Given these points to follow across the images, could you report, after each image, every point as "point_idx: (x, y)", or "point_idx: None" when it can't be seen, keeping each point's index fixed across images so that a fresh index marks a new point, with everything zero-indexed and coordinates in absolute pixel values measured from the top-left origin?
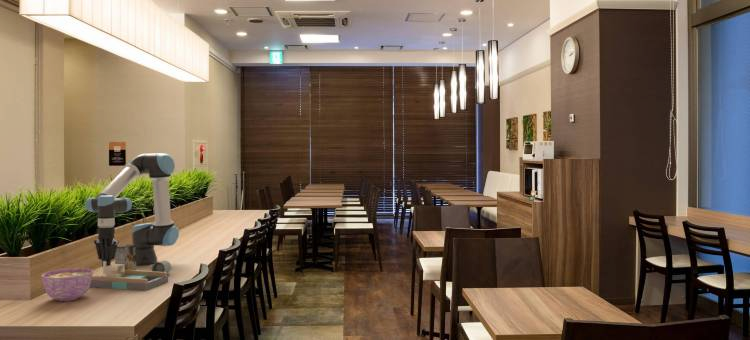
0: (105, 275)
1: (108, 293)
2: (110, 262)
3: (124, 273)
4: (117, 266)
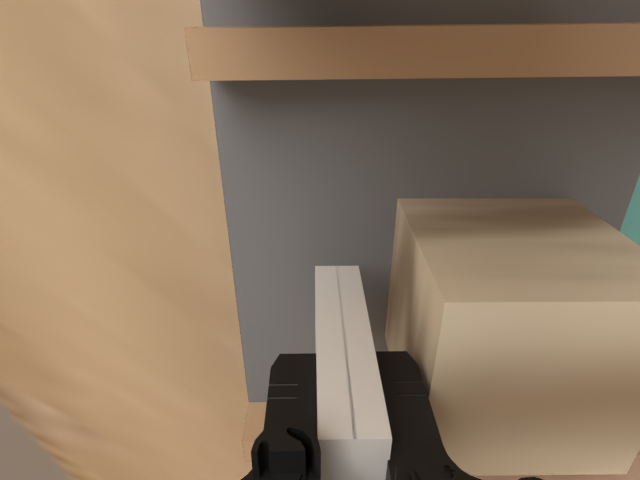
0: (262, 218)
1: (572, 476)
2: (436, 425)
3: (594, 220)
4: (637, 452)
